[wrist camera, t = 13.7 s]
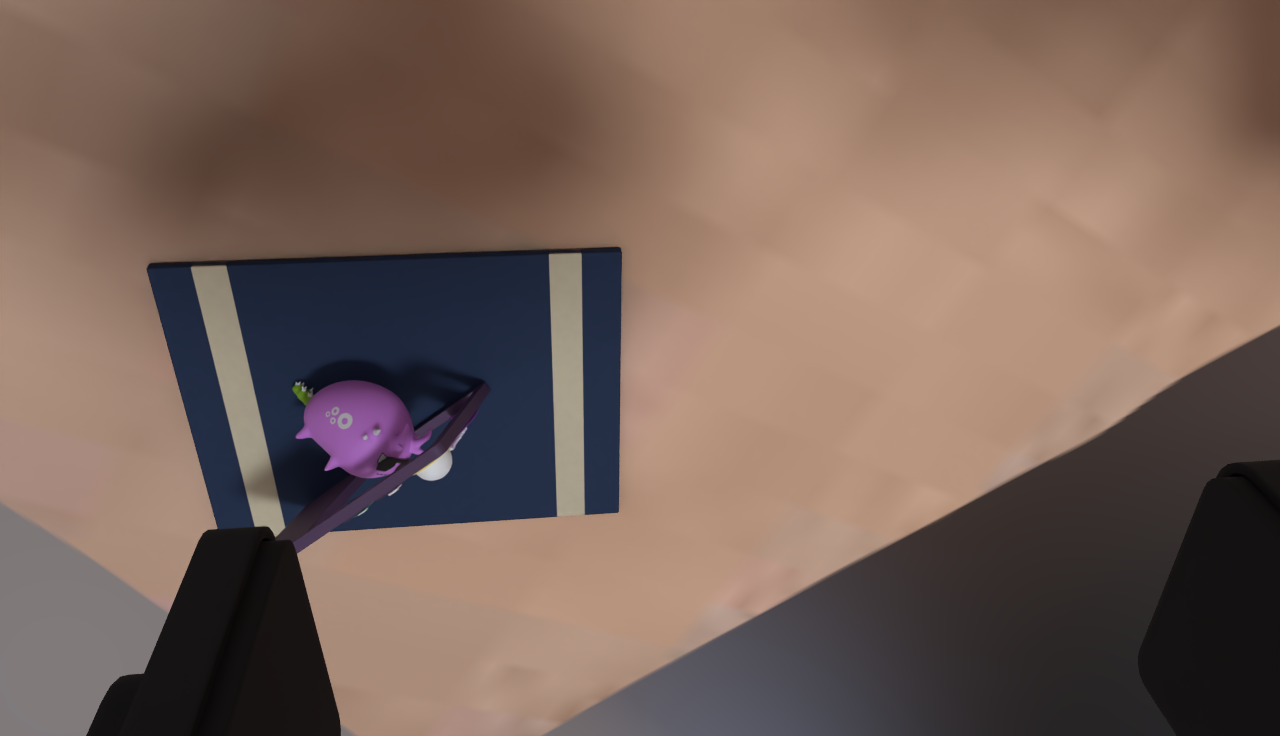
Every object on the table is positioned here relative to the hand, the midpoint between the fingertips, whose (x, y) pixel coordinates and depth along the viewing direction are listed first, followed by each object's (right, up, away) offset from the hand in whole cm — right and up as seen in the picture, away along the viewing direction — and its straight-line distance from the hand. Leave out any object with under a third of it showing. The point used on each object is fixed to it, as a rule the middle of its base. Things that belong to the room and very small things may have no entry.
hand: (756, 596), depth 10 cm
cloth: (-10, +1, +27) cm, 29 cm away
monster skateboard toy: (-12, +1, +27) cm, 29 cm away
